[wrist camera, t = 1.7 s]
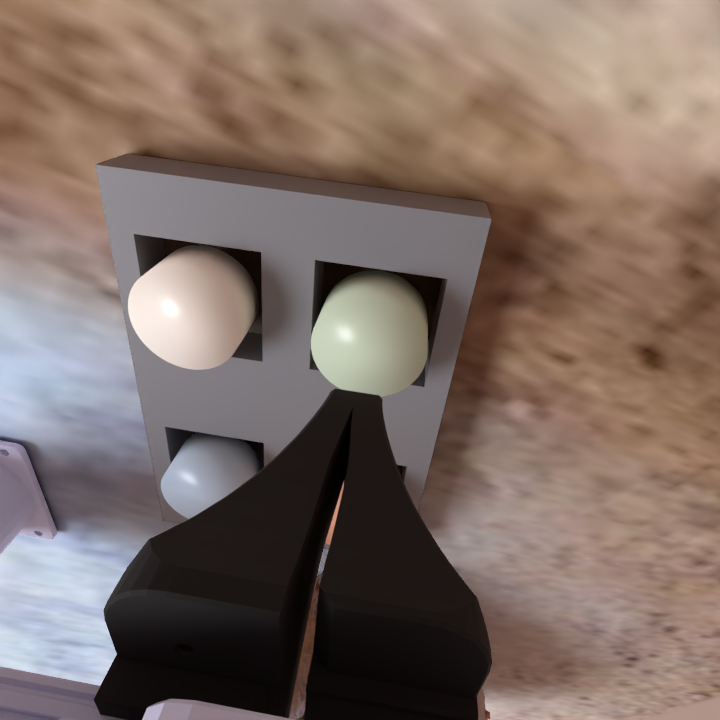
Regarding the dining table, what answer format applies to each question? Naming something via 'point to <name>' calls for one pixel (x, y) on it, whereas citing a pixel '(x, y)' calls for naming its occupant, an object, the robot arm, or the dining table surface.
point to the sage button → (371, 334)
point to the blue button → (207, 472)
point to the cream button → (194, 307)
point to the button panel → (287, 296)
